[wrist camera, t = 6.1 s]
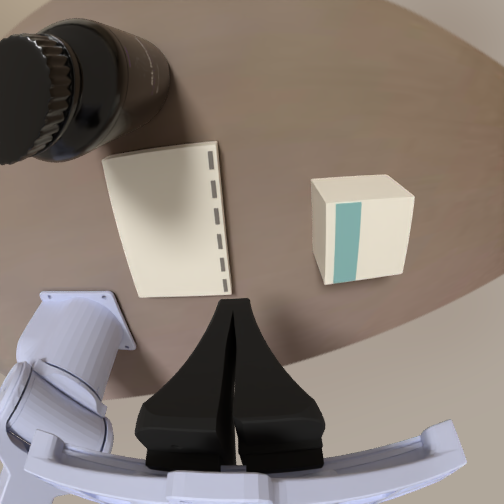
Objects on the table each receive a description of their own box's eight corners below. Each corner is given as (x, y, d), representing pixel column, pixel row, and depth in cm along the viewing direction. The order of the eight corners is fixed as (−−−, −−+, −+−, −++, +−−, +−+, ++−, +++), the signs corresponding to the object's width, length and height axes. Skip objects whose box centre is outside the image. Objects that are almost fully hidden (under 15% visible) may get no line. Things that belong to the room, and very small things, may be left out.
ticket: (142, 288, 25) (139, 298, 24) (108, 155, 19) (101, 160, 18) (231, 285, 25) (231, 295, 24) (217, 140, 19) (215, 144, 18)
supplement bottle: (193, 65, 16) (122, 46, 6) (137, 148, 19) (39, 229, 9) (115, 22, 14) (-5, -9, 4) (67, 103, 16) (-58, 149, 6)
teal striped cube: (312, 249, 24) (324, 285, 20) (310, 178, 21) (326, 203, 17) (380, 242, 24) (402, 274, 20) (386, 173, 20) (415, 197, 17)
